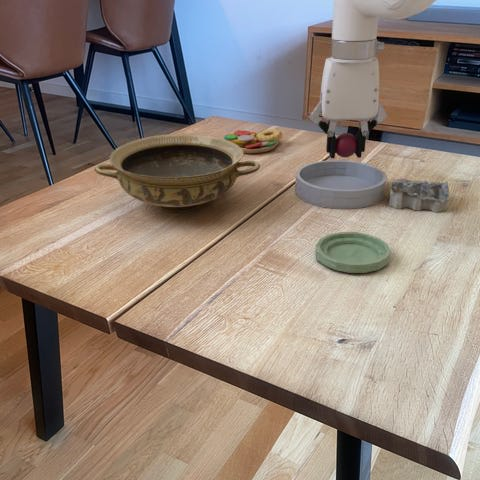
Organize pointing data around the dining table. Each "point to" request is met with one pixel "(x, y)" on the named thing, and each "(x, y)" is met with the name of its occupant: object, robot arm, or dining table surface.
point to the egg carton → (419, 195)
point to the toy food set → (255, 140)
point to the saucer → (353, 252)
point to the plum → (346, 145)
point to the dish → (340, 184)
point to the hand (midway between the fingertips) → (344, 155)
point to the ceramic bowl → (177, 169)
